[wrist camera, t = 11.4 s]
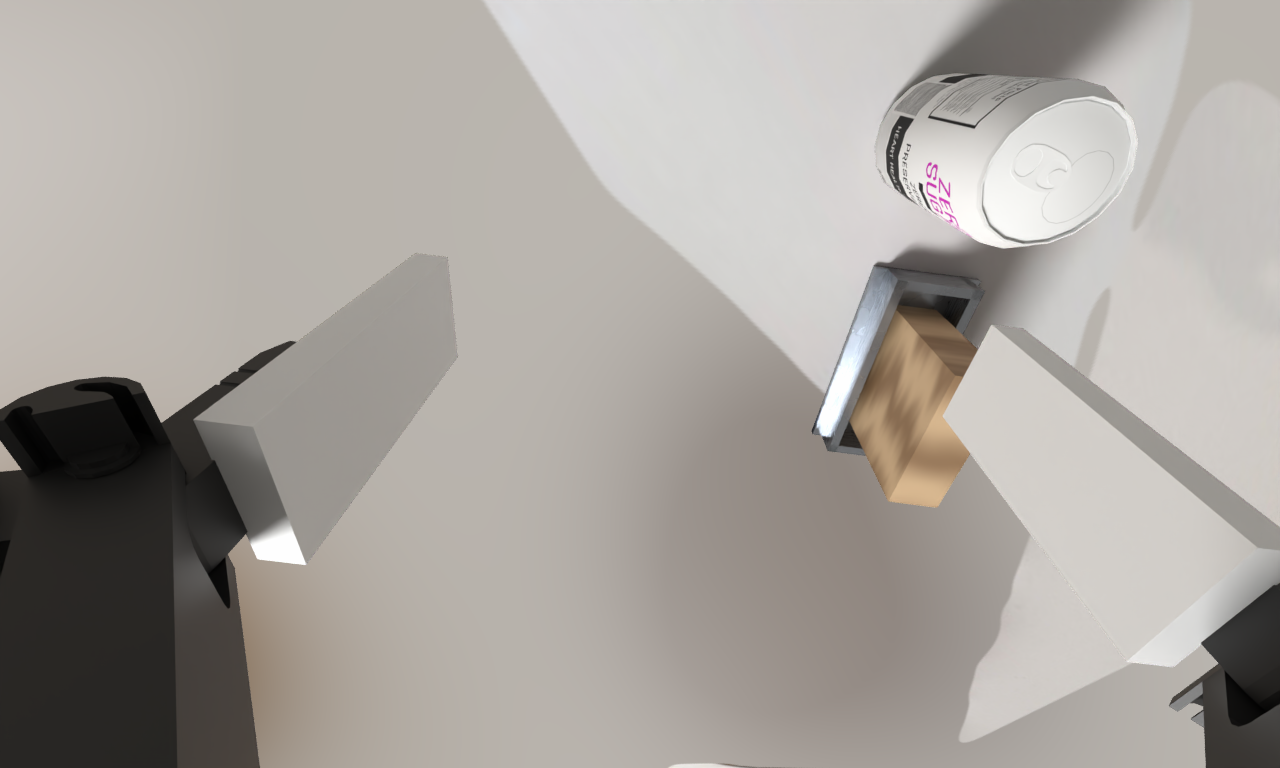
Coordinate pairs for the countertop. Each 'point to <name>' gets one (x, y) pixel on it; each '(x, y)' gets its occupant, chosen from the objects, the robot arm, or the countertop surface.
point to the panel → (913, 407)
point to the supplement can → (1008, 154)
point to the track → (868, 331)
